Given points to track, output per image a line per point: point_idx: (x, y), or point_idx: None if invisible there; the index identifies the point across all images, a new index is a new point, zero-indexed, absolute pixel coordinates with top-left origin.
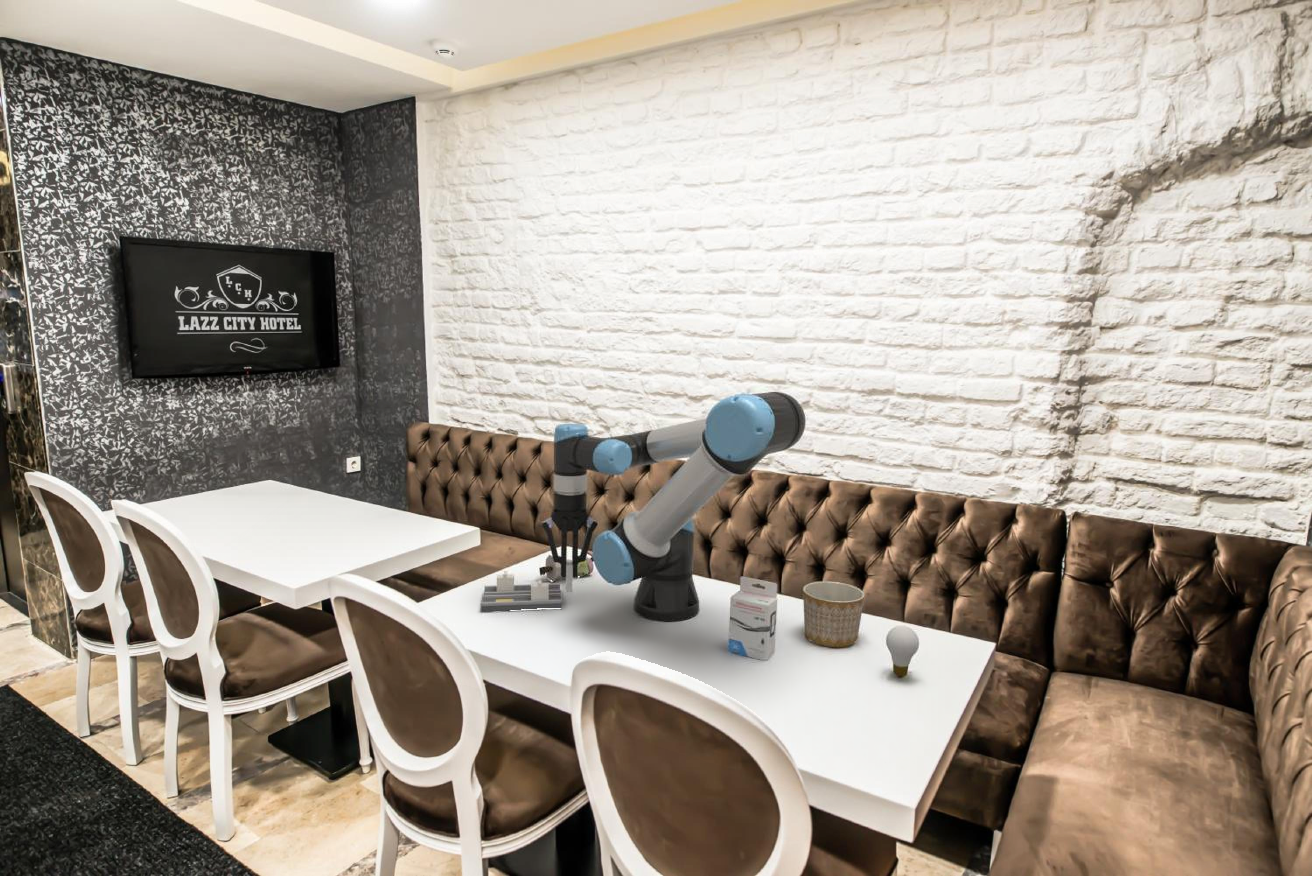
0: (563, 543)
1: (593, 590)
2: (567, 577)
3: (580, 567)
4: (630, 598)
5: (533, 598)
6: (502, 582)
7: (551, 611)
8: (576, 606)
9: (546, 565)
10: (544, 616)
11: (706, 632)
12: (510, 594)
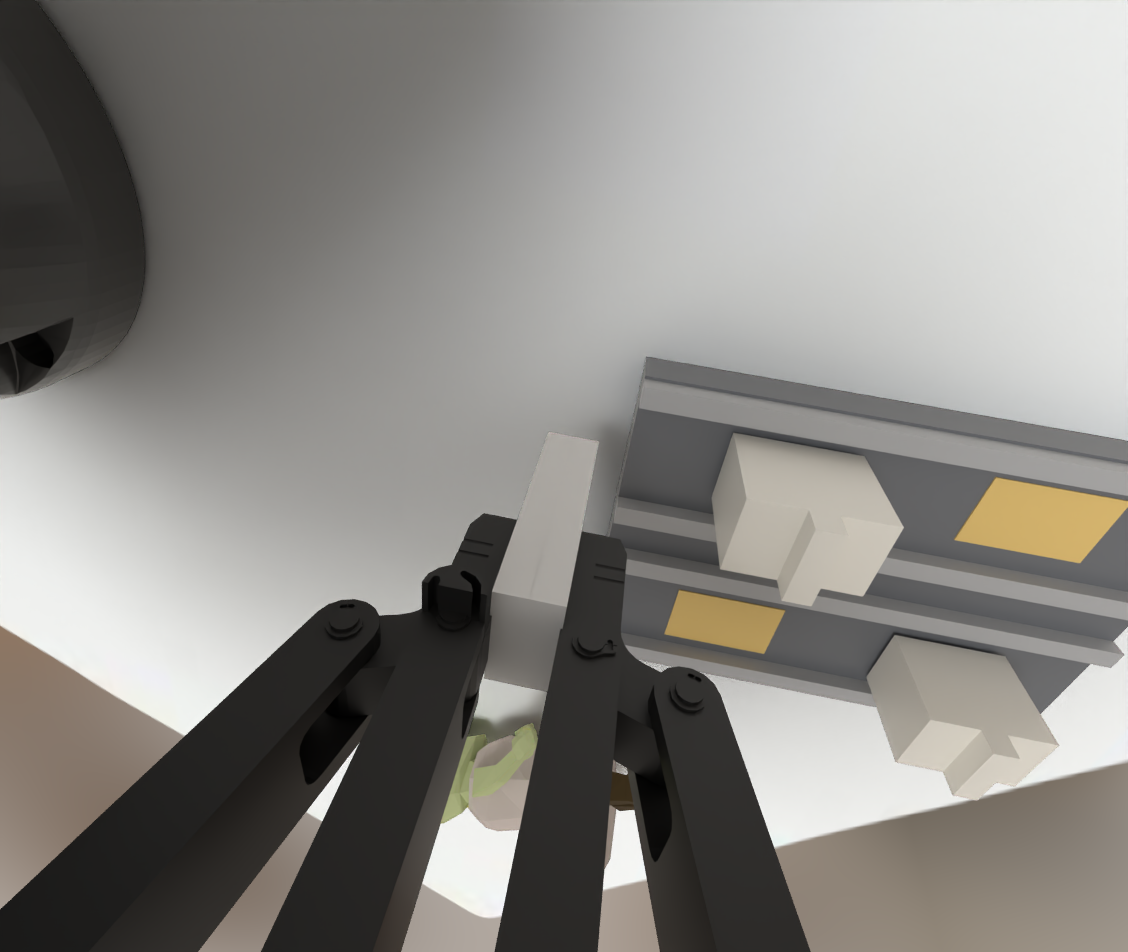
0: (560, 945)
1: (407, 576)
2: (571, 515)
3: None
4: (195, 416)
5: (852, 464)
6: (999, 705)
7: (727, 343)
8: (536, 384)
9: (611, 822)
10: (813, 257)
11: None
12: (934, 608)
